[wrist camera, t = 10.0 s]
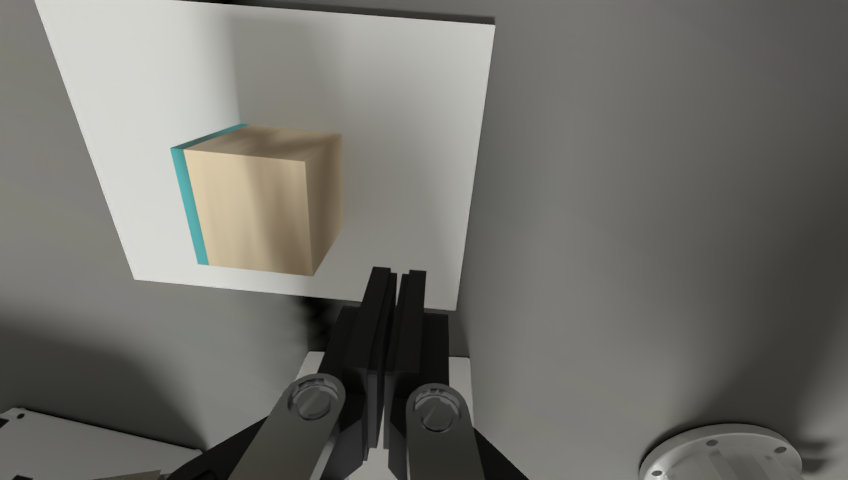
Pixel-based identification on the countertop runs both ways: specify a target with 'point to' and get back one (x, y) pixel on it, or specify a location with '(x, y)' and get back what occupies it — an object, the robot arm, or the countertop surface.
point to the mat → (282, 126)
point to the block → (262, 197)
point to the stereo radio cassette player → (77, 450)
